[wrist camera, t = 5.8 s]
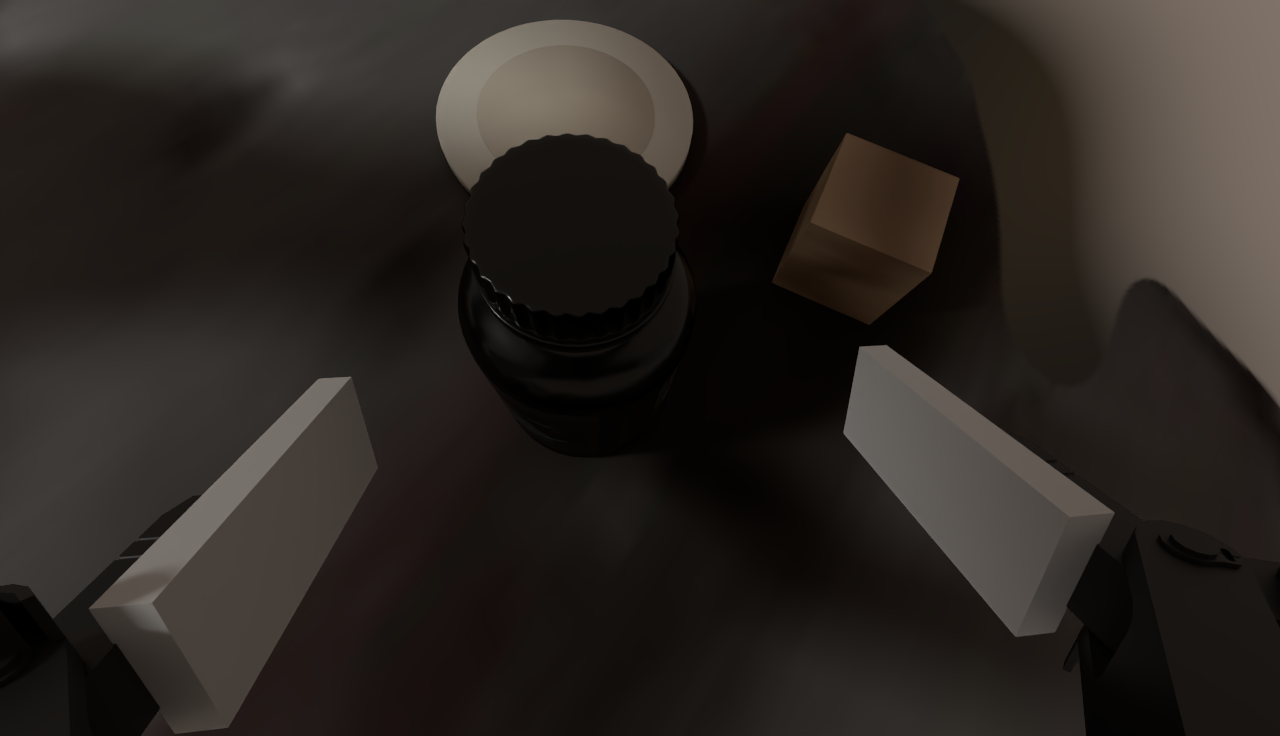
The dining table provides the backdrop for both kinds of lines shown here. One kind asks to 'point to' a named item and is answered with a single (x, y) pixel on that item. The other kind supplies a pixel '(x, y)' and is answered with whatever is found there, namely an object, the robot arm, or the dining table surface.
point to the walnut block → (867, 230)
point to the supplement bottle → (576, 290)
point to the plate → (562, 96)
